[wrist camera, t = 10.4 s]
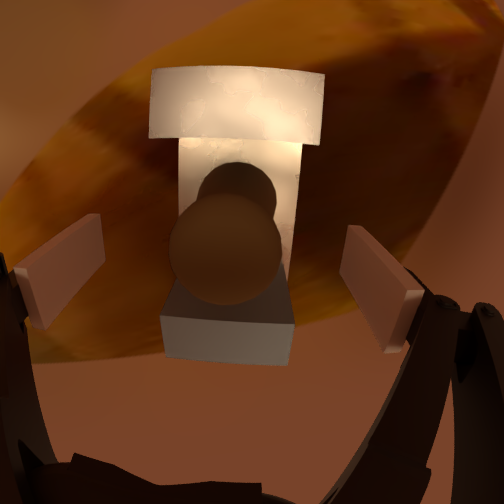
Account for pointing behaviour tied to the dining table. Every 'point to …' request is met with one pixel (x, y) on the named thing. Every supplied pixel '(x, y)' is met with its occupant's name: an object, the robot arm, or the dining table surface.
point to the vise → (239, 127)
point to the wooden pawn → (228, 236)
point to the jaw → (230, 327)
